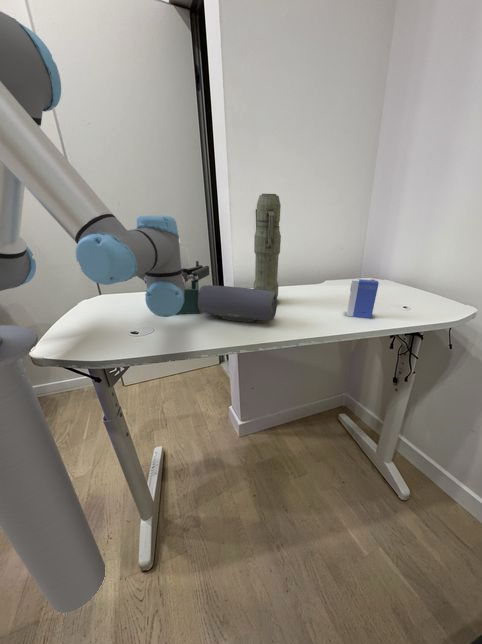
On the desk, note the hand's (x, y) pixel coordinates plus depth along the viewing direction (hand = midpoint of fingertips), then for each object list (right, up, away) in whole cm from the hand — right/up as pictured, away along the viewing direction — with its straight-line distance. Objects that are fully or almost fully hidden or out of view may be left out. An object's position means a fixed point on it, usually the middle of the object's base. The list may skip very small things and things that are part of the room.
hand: (175, 265), depth 90 cm
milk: (0, -11, +8) cm, 14 cm away
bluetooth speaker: (+20, -17, 0) cm, 26 cm away
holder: (-1, -12, +8) cm, 14 cm away
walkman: (+59, -15, +6) cm, 61 cm away
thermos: (+28, -9, +16) cm, 34 cm away
